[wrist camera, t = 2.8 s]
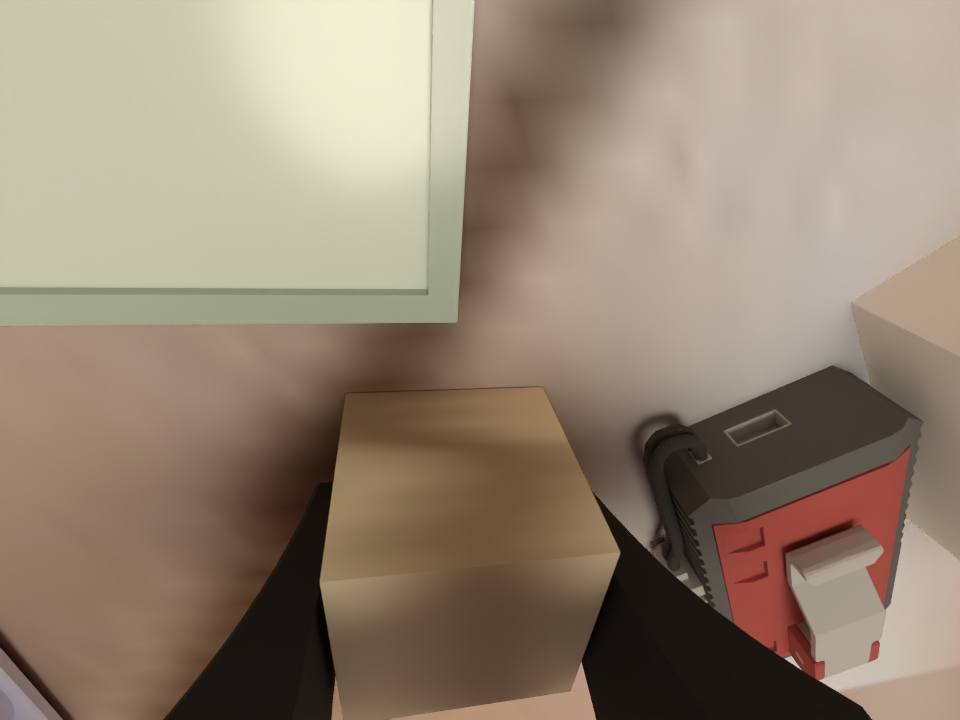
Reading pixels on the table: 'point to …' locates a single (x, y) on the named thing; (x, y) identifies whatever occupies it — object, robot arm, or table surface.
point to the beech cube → (458, 552)
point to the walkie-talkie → (791, 514)
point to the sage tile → (232, 161)
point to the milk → (922, 378)
